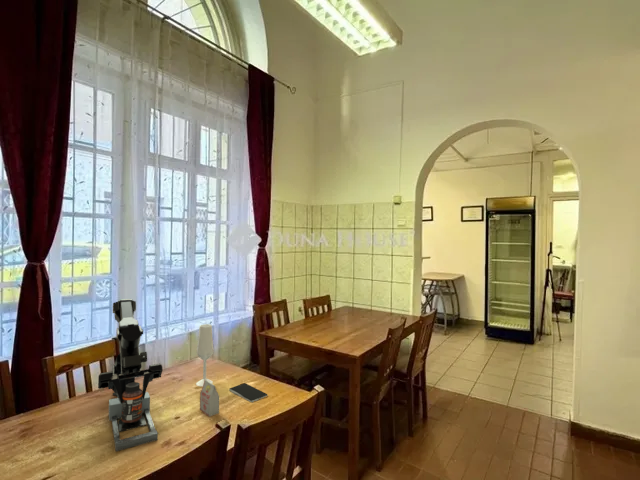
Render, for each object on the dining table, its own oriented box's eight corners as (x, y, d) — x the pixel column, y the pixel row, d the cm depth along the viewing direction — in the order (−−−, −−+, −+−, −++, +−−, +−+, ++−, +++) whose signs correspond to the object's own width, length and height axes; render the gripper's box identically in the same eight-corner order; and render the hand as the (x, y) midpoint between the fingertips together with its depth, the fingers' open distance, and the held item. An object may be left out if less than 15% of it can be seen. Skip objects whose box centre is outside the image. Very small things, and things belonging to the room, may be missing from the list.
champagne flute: (196, 380, 149) (197, 324, 149) (212, 379, 151) (213, 323, 151) (195, 387, 143) (196, 328, 143) (213, 385, 145) (214, 327, 145)
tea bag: (209, 406, 127) (210, 378, 127) (218, 413, 122) (219, 384, 122) (199, 409, 124) (200, 381, 124) (209, 416, 119) (209, 387, 119)
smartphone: (251, 401, 130) (228, 388, 140) (251, 404, 130) (228, 391, 140) (268, 394, 136) (245, 382, 146) (268, 397, 136) (245, 385, 146)
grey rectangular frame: (111, 421, 115) (111, 414, 115) (148, 412, 121) (148, 406, 121) (115, 451, 99) (115, 444, 99) (157, 440, 105) (157, 433, 105)
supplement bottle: (133, 425, 111) (133, 389, 111) (116, 422, 112) (117, 387, 112) (146, 415, 117) (146, 381, 117) (130, 413, 118) (131, 379, 118)
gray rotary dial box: (108, 414, 120) (109, 397, 120) (147, 405, 126) (147, 389, 126) (109, 420, 115) (109, 403, 115) (149, 411, 122) (150, 394, 122)
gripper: (99, 348, 112) (99, 396, 103) (162, 340, 123) (167, 383, 113) (97, 365, 119) (98, 411, 110) (158, 356, 129) (162, 398, 120)
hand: (132, 400), depth 113 cm, fingers closed on supplement bottle, 6 cm apart
